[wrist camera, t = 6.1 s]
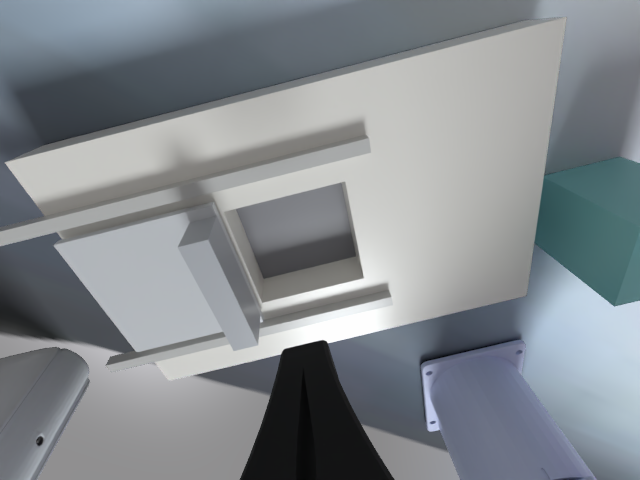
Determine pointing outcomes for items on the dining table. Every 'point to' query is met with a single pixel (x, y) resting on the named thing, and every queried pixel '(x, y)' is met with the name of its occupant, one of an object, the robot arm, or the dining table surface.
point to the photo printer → (36, 407)
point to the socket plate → (335, 188)
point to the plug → (595, 226)
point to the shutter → (168, 279)
